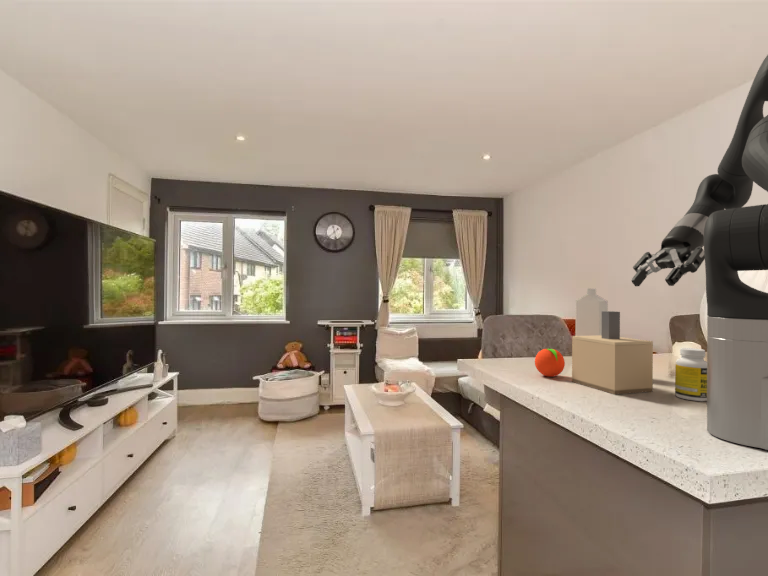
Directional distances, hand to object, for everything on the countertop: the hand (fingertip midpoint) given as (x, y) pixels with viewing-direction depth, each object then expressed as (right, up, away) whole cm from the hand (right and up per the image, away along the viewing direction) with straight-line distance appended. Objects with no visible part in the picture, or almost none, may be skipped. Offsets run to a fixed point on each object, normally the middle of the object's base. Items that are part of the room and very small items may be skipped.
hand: (650, 283), depth 93 cm
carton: (-11, -23, -4) cm, 26 cm away
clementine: (-21, -23, +6) cm, 32 cm away
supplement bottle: (0, -23, -13) cm, 26 cm away
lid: (-11, -13, -3) cm, 17 cm away
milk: (-7, -23, +13) cm, 28 cm away
